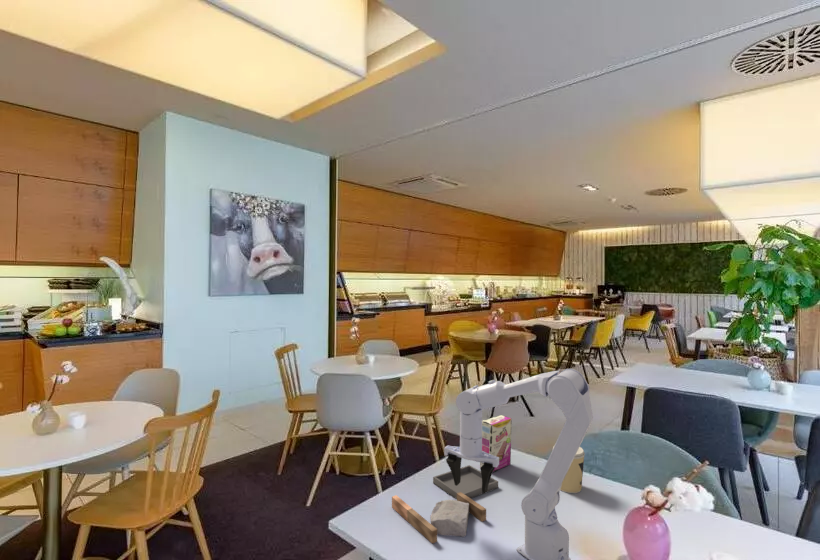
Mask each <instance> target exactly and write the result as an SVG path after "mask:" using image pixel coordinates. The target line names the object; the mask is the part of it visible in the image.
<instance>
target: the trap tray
mask: <svg viewBox="0 0 820 560" xmlns="http://www.w3.org/2000/svg"><path fill="white" fill-rule="evenodd" d="M460 471H461V480H460V483H459V484H458V485H457V486H456V485H455V483H454V479H453V475H452V472H451V470H450V471H447V472H443V473H441V474H438V475H435V476H433V477H432V480H433V481H432V484H434V485H435V486H436V487H438V488H439V489H441V490H442V491H443V492H446V493H447V494H448V495H449V496H451V497H452V498H454V500H457V493H459V492H461V493H463V494H464V495H466V496H468V497H469V498H471V499H474V498H475V497H478V496H481V495H483V494H484V493H482V475H481V470H479V469H477V468H476V467H474V466H472V465H470V464H469V465H465V466H463V467H462V466H461V470H460ZM498 488H499V481H498V480H496V479H495V478H493V477H491V478H490V481H489V485H488V490H487V492H486V493H489V492H491V491H493V490H496V489H498Z"/></svg>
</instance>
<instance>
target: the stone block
mask: <svg viewBox="0 0 820 560" xmlns="http://www.w3.org/2000/svg"><path fill="white" fill-rule="evenodd" d="M469 516H470V513H469V503H464V502H461V501H457V499H444V500H441V501H438V502H436V503H435V506H434V507H433V509H432V511H431V515H430V524H431V525H433V526H434V527H435V528H436V529H437V535H440V536H449V537H450V536H452V537H453V536H454V537H464V538H465V537H466V535H467V529H468V524H469V523H468V522H469Z"/></svg>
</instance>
